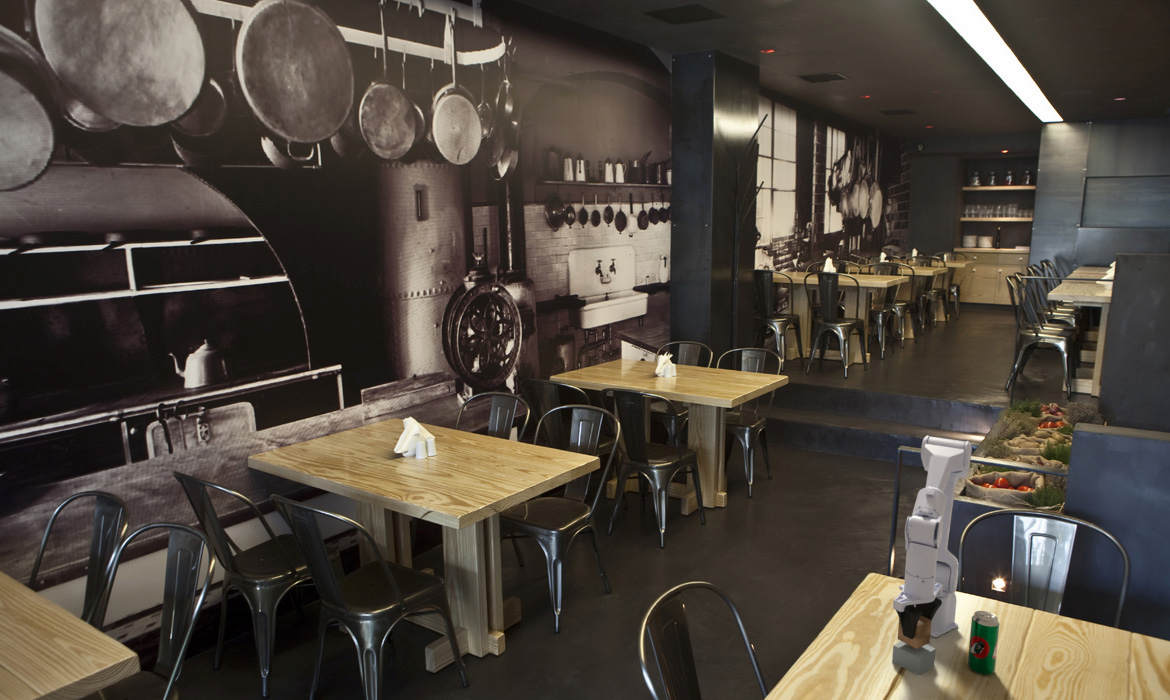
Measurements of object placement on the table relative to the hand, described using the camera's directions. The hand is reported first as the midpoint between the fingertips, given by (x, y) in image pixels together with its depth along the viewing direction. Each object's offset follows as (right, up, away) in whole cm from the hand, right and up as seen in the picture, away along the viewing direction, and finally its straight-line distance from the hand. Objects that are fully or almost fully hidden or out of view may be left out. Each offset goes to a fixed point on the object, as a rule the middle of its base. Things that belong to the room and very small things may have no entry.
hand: (915, 633), depth 156 cm
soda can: (+13, -7, -1) cm, 15 cm away
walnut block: (0, -2, +1) cm, 2 cm away
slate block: (0, -7, +1) cm, 7 cm away
